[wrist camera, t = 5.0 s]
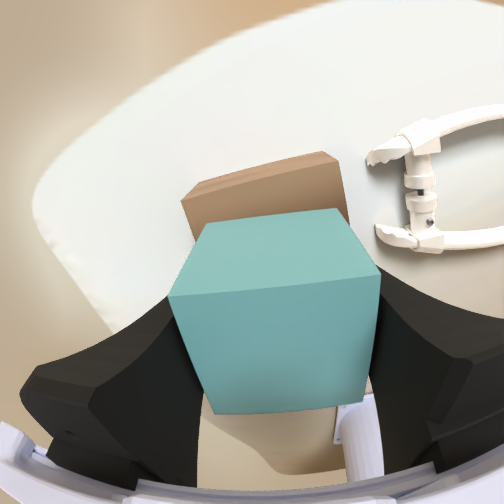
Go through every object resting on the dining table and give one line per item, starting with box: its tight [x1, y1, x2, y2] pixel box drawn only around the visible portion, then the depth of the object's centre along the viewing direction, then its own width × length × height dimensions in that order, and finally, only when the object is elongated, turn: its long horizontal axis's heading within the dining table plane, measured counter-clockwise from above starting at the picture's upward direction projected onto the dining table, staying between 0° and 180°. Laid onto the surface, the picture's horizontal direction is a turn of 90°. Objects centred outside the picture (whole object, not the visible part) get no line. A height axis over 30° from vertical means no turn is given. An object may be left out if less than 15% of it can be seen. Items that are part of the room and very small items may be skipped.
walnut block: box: [181, 151, 350, 241], centre depth 15 cm, size 7×7×4 cm
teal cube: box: [167, 208, 381, 414], centre depth 10 cm, size 5×5×5 cm
